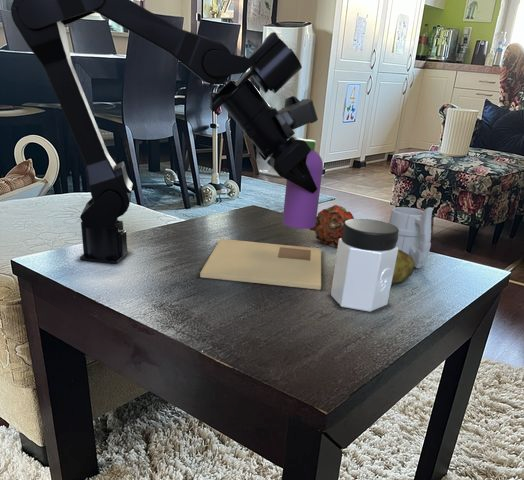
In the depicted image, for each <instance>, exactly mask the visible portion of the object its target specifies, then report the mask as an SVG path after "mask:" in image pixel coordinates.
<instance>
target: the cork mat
mask: <svg viewBox="0 0 524 480" xmlns="http://www.w3.org/2000/svg"><path fill="white" fill-rule="evenodd" d="M199 277H200V278H204V279H214V280H223V281H233V282H243V283H252V284H260V285H261V284H263V285H271V286H280V287H281V286H282V287H290V288H301V289H308V290H309V289H310V290H318V291H319V290H322V248H318V247H308V246H298V245H297V246H296V245H288V244H278V243H267V242H257V241H249V240H248V241H247V240H238V239H227V238H219V240H218V242H217V243H216V246H215V247H214V249H213V250H212V252H211V254H210V256H209V257H208V259H207V260H206V262H205V264H204V265H203V267H202V269H201V271H200V272H199Z"/></svg>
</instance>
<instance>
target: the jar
mask: <svg viewBox="0 0 524 480" xmlns="http://www.w3.org/2000/svg"><path fill="white" fill-rule="evenodd" d="M398 233H399V229H398V228H397V227H396V226H394V225H392V224H390V223H389V222H387V221H384V220H378V219H372V218H371V219H370V218H354V219H351V220H347V221H346V222H345V223H344V226H343V233H342V238H340V239H339V241H338V246H337V247H336V248H337V249H336V255H335V262H334V270H333V276H332V283H331V291H330V296H331V298H333V299H334V300H335V302H336V303H337V304H338V305H339V306H340V307H341V308H346V309H350V310H357V311H364V312H368V313H371V312H373V311H376V310H378V309H380V308H383V307H386V306H387V305H388V303H389V297H390V293H391V292H390V291H391V289H392V284H391V283H392V278H393V273H394V268H395V263H396V258H397V253H398V247H397V246H396V243H397V241H398Z"/></svg>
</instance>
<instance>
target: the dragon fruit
mask: <svg viewBox="0 0 524 480" xmlns="http://www.w3.org/2000/svg"><path fill="white" fill-rule="evenodd" d="M351 219H355V217H354V215H353V214H352V213H351V211H347V209H346V207H344V206H341V205H338V204H334V205H332V206H330V207H327V208H323V209H322V210H320V211H319V212H317V217H316V225H315V227H313V228H309V231H312V232H315V238H316V240H317V241H318V242H319V243H322V244H326V245H328V246H330V247H333V248H338V241H339V239H340V238H342V233H343V226H344V223H345V222H346V221H347V220H351Z"/></svg>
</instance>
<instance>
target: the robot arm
mask: <svg viewBox="0 0 524 480" xmlns="http://www.w3.org/2000/svg"><path fill="white" fill-rule="evenodd" d="M95 13H96V14H99V15H100V16H102V17H104V18H106V19H108V20H110V21H112V22H113V23H114V24H117V25H119V26H120V27H122V28H123V29H126V30H128V31H129V32H130V33H133V34H135V35H137V36H138V37H140V38H142V39H143V40H146V41H147V42H148V43H151V44H152V45H154V46H156V47H158V48H160V49H161V50H163V51H165V52H167V53H169V54H170V56H172V57H173V58H175V60H177V61H178V62H180V64H182V65H183V66H184V67H186V68H187V69H188V70H189V71H191V72H192V73H193V74H194V75H195V76H196V77H198V78H199V79H201V80H202V81H203V82H205V83H207V84H209V85H213V86H215V85H216V86H217V85H221V84H223V83H225V82H226V81H227V80H228V79H229V78H230V76H231V75H239V74H243V75H242V77H240V78H239V79H238V80H237V81H236V82H235V83H234V81H233V80H232V79H229V80H228V81H227V82H226V83H225V84H224V85H223V86H222V87H221V88H220V89H219V90H218V91H217V92H214V91H209V94H208V95H209V99H210V103H209V109H210V110H211V111H212V112H213V113H215V112H216V111H218V109H220V108H221V107H223V108H224V109H225V110H226V111H227V113H228V114H229V115H230V117H231V118H232V119H233V121H235V123H236V125H238V126H239V127H240V129H241V130H242V132H243V133H244V134H245V135H246V137H248V139H249V140H250V141H251V142H252V144H253V145H254V146H255V151H256V152H257V154H258V155H259V156H260V157H261V159H262V160H263V161H265V162H266V163H267V164H268V166H270V167H271V168H272V169H273V170H274V171H275V173H276V174H277V175H278V176H279V177H280V178H283V179H285V180H286V181H287V180H289V181H291V182H292V183H294V184H296V185H298V186H300V187H302V188H304V189H306V190H307V191H309V192H311V193H314V192H315V191H316V190H317V187H316V184H315V182H314V180H313V178H312V176H311V173H310V171H309V169H308V167H307V164H306V160H307V155H308V154H309V153H310V151H311V148H310V147H309V146H308V144H307V143H306V142H305V140H303V139H304V138H301V137H299V136H294V135H295V134H296V133H295V131H294V130H296V129H298V128H301V127H304V126H305V125H308V124H313V123H315V122H318V120H319V119H318V115H317V111H316V108H315V105H314V101H313V99H309V98H302V99H301V100H299V99H298V97H296V95H295V96H294V95H291V96H289V97H286V98H284V99H285V100H284V107H281V109H277V108H276V107H273V106H272V105H270V104H269V103H268V102H267V101H266V99H265V98H264V97H263V95H262V94H261V93H260V91H259V90H258V89H257V88H256V86H255V85H254V83H253V82H252V81H251V79H250V78H252V79H253V81H254V82H255V83H256V85H257V86H258V87H259V88H260V89H261V90H262V92H263V93H264V94H267V93H269V91H270V92H272V93H273V94H277V93H278V91H280V90H281V89H282V88H283V87H284V86H285V85H286V84H287V83H288V82H289V81H290V80H291V79H292V78H293V77H294V76H296V74H298V73H299V71H301V69H302V67H303V66H302V64H301V62H300V61H301V60H299V58H298V56H297V55H296V54H295V52H294V51H293V49H292V48H290V47H288V45H287V44H286V43H285V41H283V40H282V39H281V38H280V37H279V35H278V34H277V32H275V31H273V32H270V33H269V34H268V35H267V36H266V37H265V39H264V40H263V41H262V43H261V44H260V45H259V46H258V47H257V48H256V49H255V50H254V51H253V52H252V53H251V54H250V55H249V56H248V57H247V56H246V55H245V54H240V55H237V54H234V53H232V52H231V50H230V49H229V48H228V47H227V46H226V45H225V44H223V42H222V43H221V42H220V41H217V40H214V39H211V38H208V37H205V36H203V35H200V34H198V33H197V34H196V33H195V32H191V31H188V30H185V29H182V28H179V27H177V26H176V25H174V24H172V23H170V22H169V21H167V20H165V19H164V18H162V17H160V16H158V15H157V14H155V13H153V12H152V11H150V10H148V9H146V8H145V7H143V6H141V5H140V4H138V3H136V2H135V1H133V0H12V3H11V7H10V14H11V19H12V21H13V23H14V25H15V27H16V28H17V30H18V32H19V33H20V35H21V36H22V38H23V40H24V41H25V42H26V45H27V46H28V48H29V49H30V51H31V52H32V53H33V54H34V56H35V57H36V59H37V60H38V61H39V63H40V64H41V66H42V68H43V69H44V70H45V71H44V72H45V73H46V75H47V78H48V80H49V82H50V85H51V87H52V89H53V91H54V94H55V96H56V99H57V101H58V103H59V105H60V108H61V110H62V112H63V115H64V117H65V120H66V122H67V124H68V127H69V129H70V131H71V133H72V135H73V139H74V140H75V142H76V146H77V148H78V150H79V152H80V154H81V157H82V160H83V162H84V165H85V170H86V176H87V182H88V188H89V192H90V195H91V198H90V199H89V200H88V201H87V202H86V204H85V205H84V208H83V209H82V212H81V214H80V216H79V218H80V220H81V221H80V228H81V238H82V239H81V240H82V250H83V254H81V255H80V256H79V260H80V261H86V262H94V263H104V264H105V263H106V264H118V263H119V262H120V261H121V260H122V259H123V258H124V257H125V256H127V255H128V253H129V249H128V238H127V230H126V229H124V221H123V220H119V217H122V216H124V215H125V213H126V212H128V209H129V207H130V203H131V198H132V190H133V186H134V183H133V182H132V181H131V179H130V178H129V176H128V173H127V169H126V164H125V162H124V161H121V162H119V163H116V162H115V161H114V159H113V158H112V156H111V155H110V153H109V151H108V149H107V147H106V144H105V142H104V139H103V137H102V134H101V132H100V129H99V126H98V124H97V122H96V120H95V117H94V114H93V112H92V110H91V107H90V104H89V102H88V99H87V97H86V95H85V92H84V89H83V86H82V85H81V82H80V80H79V77H78V74H77V72H76V69H75V67H74V65H73V61H72V57H71V52H70V51H71V50H70V46H69V39H68V35H67V30H66V27H65V26H67V25H70V24H72V23H74V22H77V21H79V20H81V19H84V18H87V17H88V16H92V15H93V14H95ZM268 158H269V159H268ZM266 160H267V161H266Z"/></svg>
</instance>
